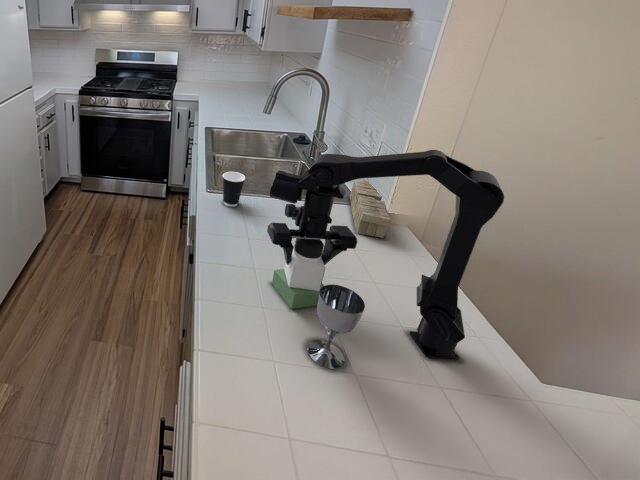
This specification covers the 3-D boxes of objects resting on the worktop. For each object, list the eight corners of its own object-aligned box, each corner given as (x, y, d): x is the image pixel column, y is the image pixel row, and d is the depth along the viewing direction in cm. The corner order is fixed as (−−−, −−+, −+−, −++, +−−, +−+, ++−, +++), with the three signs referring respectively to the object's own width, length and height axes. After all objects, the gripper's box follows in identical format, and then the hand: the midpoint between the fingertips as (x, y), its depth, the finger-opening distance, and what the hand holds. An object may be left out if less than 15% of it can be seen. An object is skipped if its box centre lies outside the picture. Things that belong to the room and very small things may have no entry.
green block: (324, 304, 94) (328, 289, 92) (291, 309, 92) (294, 294, 90) (302, 279, 102) (305, 266, 100) (271, 283, 100) (274, 269, 99)
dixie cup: (243, 209, 136) (247, 181, 132) (220, 208, 137) (224, 180, 132) (239, 198, 143) (243, 172, 139) (218, 197, 144) (221, 171, 140)
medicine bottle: (319, 291, 91) (330, 250, 87) (288, 287, 93) (297, 246, 88) (312, 272, 98) (322, 232, 93) (283, 268, 99) (291, 229, 94)
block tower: (348, 198, 146) (355, 235, 121) (353, 178, 143) (362, 211, 118) (372, 202, 143) (384, 241, 118) (378, 182, 140) (391, 217, 115)
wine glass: (323, 374, 76) (340, 317, 70) (296, 342, 83) (310, 288, 77) (355, 365, 78) (375, 309, 72) (327, 335, 85) (342, 281, 79)
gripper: (343, 194, 94) (330, 246, 100) (266, 190, 95) (257, 243, 101) (366, 217, 84) (349, 274, 90) (279, 213, 85) (268, 270, 91)
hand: (304, 264), depth 93 cm, fingers open, 8 cm apart
